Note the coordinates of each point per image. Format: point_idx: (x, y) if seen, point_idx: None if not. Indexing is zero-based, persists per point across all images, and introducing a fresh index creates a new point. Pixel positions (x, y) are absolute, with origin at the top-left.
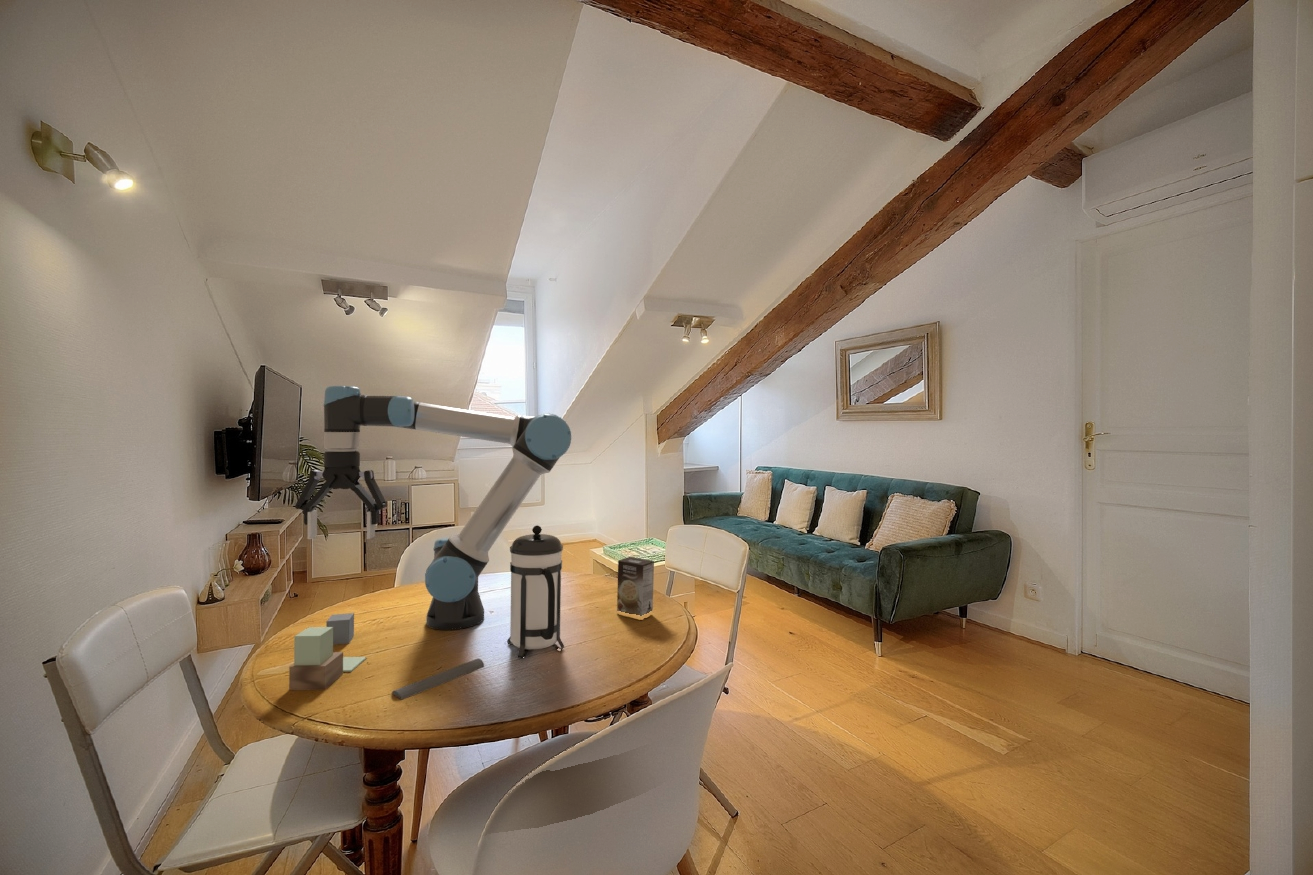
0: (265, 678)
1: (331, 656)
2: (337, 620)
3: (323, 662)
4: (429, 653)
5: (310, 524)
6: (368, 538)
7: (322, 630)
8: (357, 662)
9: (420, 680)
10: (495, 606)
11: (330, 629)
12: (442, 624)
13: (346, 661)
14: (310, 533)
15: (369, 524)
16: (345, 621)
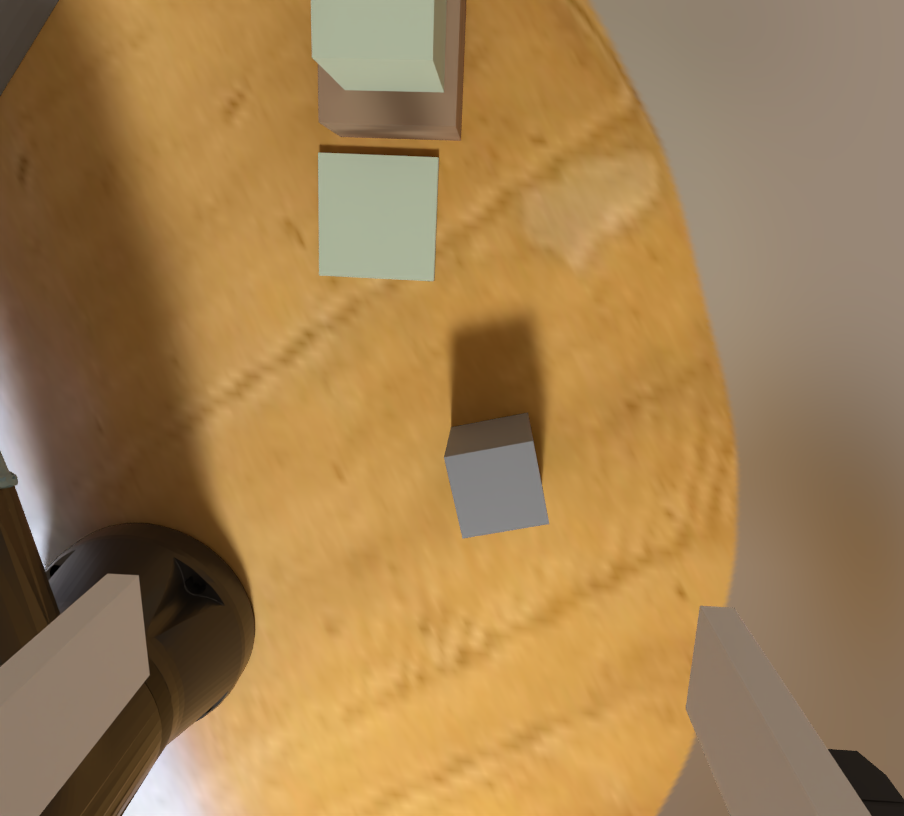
0: (604, 115)
1: None
2: (490, 449)
3: None
4: (115, 308)
5: (770, 722)
6: (117, 575)
7: (337, 1)
8: (327, 222)
9: (10, 14)
10: None
11: (313, 31)
12: (149, 535)
13: (372, 236)
14: (725, 644)
15: (1, 670)
16: (459, 451)
